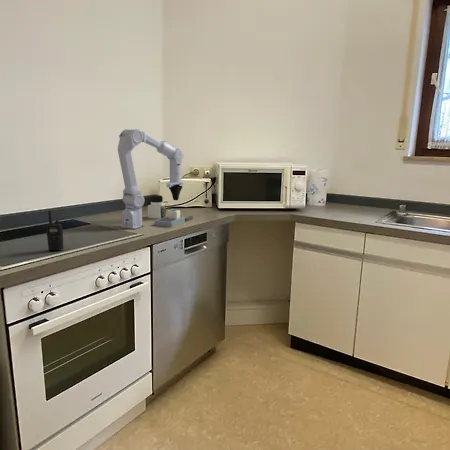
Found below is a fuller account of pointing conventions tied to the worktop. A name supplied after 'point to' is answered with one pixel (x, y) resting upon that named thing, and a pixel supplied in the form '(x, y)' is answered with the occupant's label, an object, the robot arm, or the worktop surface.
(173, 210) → the plug
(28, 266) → the worktop surface
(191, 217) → the bracket
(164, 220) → the port panel
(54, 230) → the two-way radio
